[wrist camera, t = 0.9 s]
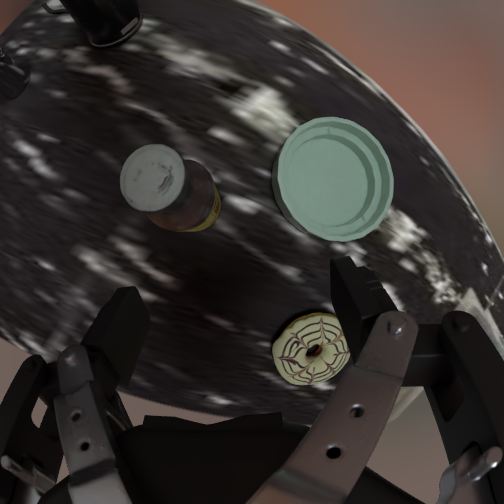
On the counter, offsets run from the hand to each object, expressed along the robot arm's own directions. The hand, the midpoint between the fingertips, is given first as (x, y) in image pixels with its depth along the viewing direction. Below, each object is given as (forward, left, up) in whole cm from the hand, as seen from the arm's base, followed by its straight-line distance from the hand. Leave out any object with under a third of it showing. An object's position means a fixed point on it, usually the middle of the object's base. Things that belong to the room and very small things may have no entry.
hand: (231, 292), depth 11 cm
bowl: (0, +15, -24) cm, 29 cm away
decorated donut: (+18, +2, -24) cm, 30 cm away
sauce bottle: (-6, -1, -24) cm, 25 cm away
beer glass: (-45, -18, -24) cm, 54 cm away
